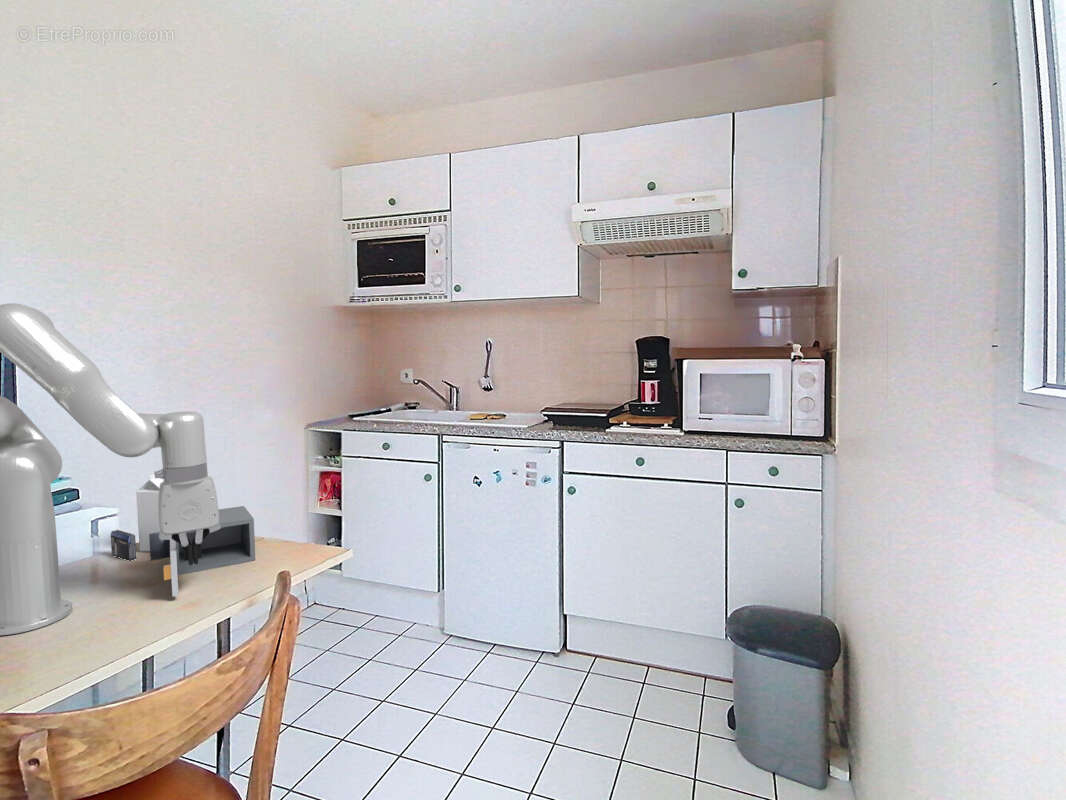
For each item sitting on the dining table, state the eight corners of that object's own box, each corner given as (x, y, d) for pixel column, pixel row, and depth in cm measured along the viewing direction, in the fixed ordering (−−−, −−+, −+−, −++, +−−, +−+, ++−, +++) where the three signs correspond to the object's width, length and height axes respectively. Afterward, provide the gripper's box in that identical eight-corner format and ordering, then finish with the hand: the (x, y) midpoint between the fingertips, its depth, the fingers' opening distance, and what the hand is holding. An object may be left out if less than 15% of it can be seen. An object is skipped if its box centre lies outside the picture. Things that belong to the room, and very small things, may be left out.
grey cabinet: (152, 580, 120) (149, 534, 119) (150, 561, 131) (148, 519, 131) (255, 560, 132) (253, 518, 131) (245, 544, 143) (243, 505, 142)
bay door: (165, 573, 121) (163, 532, 120) (177, 571, 122) (175, 530, 122) (165, 598, 108) (162, 552, 108) (178, 595, 110) (176, 550, 109)
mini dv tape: (111, 555, 136) (110, 531, 135) (118, 554, 137) (117, 529, 136) (129, 561, 131) (127, 536, 131) (136, 559, 133) (135, 534, 132)
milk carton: (139, 552, 138) (135, 475, 136) (159, 542, 145) (155, 469, 144) (167, 552, 138) (163, 475, 136) (186, 543, 145) (182, 469, 143)
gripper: (140, 482, 105) (148, 577, 107) (230, 471, 114) (236, 559, 115) (140, 476, 112) (148, 566, 113) (225, 465, 120) (232, 549, 121)
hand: (193, 562), depth 114 cm, fingers closed
